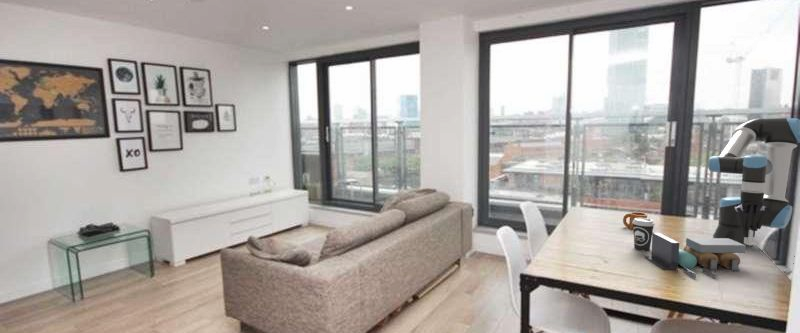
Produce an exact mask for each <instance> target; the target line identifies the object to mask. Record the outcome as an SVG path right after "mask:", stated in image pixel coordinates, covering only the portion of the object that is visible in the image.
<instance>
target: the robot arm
mask: <svg viewBox="0 0 800 333" xmlns="http://www.w3.org/2000/svg"><path fill="white" fill-rule="evenodd" d="M754 142H760V143H761V142H764V145H765V147H767V153H766V154H767V155H766V156H764V155H757V154H756V155H755V154H753V155H751V154H750V155H745V156H744V157H742V156H743V155H744V153H745V152H746V150H747V149H748V147H749V145H751V144H753V143H754ZM799 143H800V119H799V118H791V117H790V118H789V117H786V118H785V117H784V118H783V117H782V118H781V117H779V118H754V119H751V120H748V121H746V122H744V123H741V124H740V125H738V126H737V127H735V129H734V130H733V132H732V134H731V139H730V140H729V142H728V143H727V145H726V146H725V147H724V149H723V150H722V151H721V153H720V154H719V155H715V156H714V155H713V156H710V158H709V159H708V162H707V167H708V170H709V171H710V172H713V173H722V174H734V175H735V174H738V175H742V176H741V188H740V189H741V191H740V196H726V197H723V198H721V199H720V200H719V207H718V208H719V211H718V222H717V223H718V225H717V226H716V228H715V230H714V233H713V234H712V238H729V239H731V240H734V241H736V242H739V243H741V244H744V245H746V246H753V241H754V238H755V236H756V235H755V234H756V232H757V231H758V230H761V228H762V227H766V228H771V229H785V228H786V227H787V226H788V225H789V222H790V220H791V217H792V214H793V206H792V205H789V200H788V199H787V198H786V194H787V193H786V192H787V186H788V180H789V175H790V167H791V159H792V152H793V149H796V148H797V147H798V144H799Z"/></svg>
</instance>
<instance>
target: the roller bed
mask: <svg viewBox="0 0 800 333" xmlns="http://www.w3.org/2000/svg"><path fill="white" fill-rule="evenodd" d="M738 263H739V260H738V259H730V269H728V268H718V267H717V266H718V265H717V259H709V269H708V268H705V267H704V266H702V270H701V271H702V273H703V274H705V275H707V276H709V277H710V278H712V279H717V273H716V272H741V269H739V265H738ZM697 265H698V263H696V265H695V266H694V267H693V268H695V267H698V266H697ZM682 272H683V273H685V274H686V275H687V276H689V277H691V278H692V279H697V273H696V272H695V271H692V270H691V269H687V268H686V267H682Z"/></svg>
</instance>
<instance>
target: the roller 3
mask: <svg viewBox="0 0 800 333" xmlns="http://www.w3.org/2000/svg"><path fill="white" fill-rule="evenodd" d="M713 254H715V255H716V256H717V257H718V259H719V263H718V265H719V266H722V267H725V269H730V259H738V260H739V263H738V266H740V264H741V258H740V256H739V255H737V253H713Z"/></svg>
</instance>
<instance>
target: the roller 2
mask: <svg viewBox="0 0 800 333" xmlns="http://www.w3.org/2000/svg"><path fill="white" fill-rule="evenodd" d="M682 250H684V251H686V252H688V253H689V254H691V255H693V256H695V257H696V259H697V265H698V264H699V266H702V267H705V268H707V269H709V259H717V266H718V265H719V264H718V263H719V259H718V257H717V256H716V255H715V254H713V253H700V252H698V251H696V250H694V249H692V248H690V247H688V246H686V245H685V246H684V247H683V249H682Z"/></svg>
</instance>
